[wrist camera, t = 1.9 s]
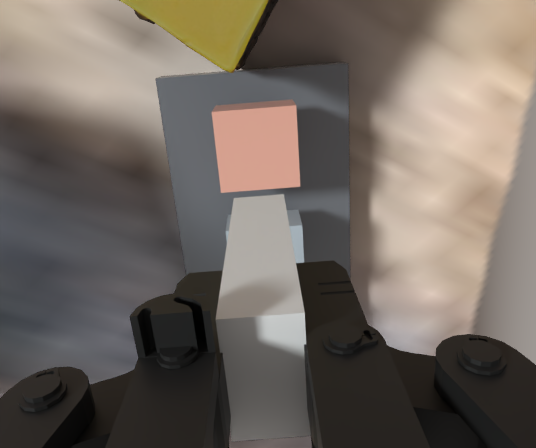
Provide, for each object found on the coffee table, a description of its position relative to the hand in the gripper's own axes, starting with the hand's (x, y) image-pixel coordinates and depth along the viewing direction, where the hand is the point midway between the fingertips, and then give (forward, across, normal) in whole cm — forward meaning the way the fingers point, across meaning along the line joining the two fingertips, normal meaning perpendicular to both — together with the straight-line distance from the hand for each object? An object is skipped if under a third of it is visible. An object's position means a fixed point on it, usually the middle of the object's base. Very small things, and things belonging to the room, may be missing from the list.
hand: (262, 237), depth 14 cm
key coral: (+17, 0, 0) cm, 17 cm away
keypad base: (+19, 0, -7) cm, 20 cm away
